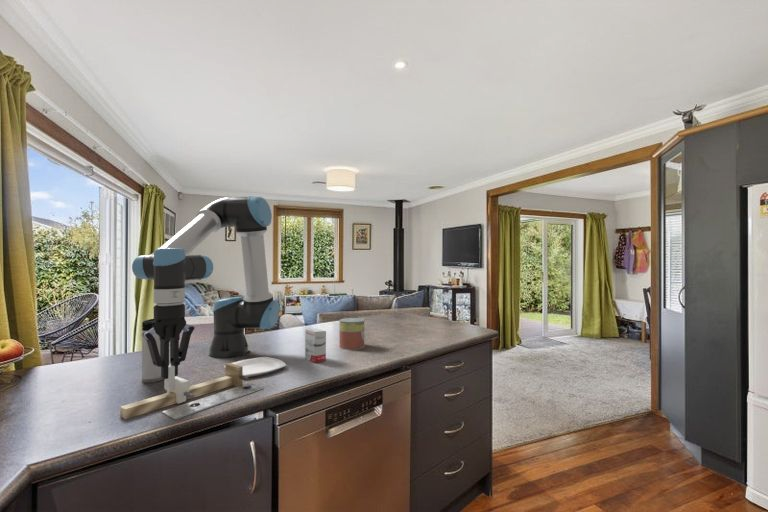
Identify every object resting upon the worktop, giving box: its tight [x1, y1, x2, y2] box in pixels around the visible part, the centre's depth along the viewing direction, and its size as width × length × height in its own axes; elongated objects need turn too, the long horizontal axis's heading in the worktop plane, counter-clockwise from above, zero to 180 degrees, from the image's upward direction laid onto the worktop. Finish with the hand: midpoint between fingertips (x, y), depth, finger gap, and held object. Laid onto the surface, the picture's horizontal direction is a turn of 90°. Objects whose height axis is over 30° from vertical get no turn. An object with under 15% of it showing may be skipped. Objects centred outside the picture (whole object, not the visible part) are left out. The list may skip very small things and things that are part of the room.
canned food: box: [339, 317, 365, 351], centre depth 164 cm, size 11×11×12 cm
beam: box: [119, 362, 249, 420], centre depth 103 cm, size 32×10×6 cm, turn 145°
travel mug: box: [141, 318, 163, 384], centre depth 120 cm, size 6×7×20 cm
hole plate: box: [161, 382, 265, 420], centre depth 103 cm, size 7×26×1 cm, turn 145°
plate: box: [223, 356, 287, 378], centre depth 131 cm, size 19×19×2 cm
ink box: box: [304, 327, 327, 364], centre depth 143 cm, size 8×5×12 cm, turn 39°
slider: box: [166, 375, 195, 404], centre depth 101 cm, size 2×12×6 cm, turn 55°
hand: (169, 389), depth 101 cm, fingers closed
